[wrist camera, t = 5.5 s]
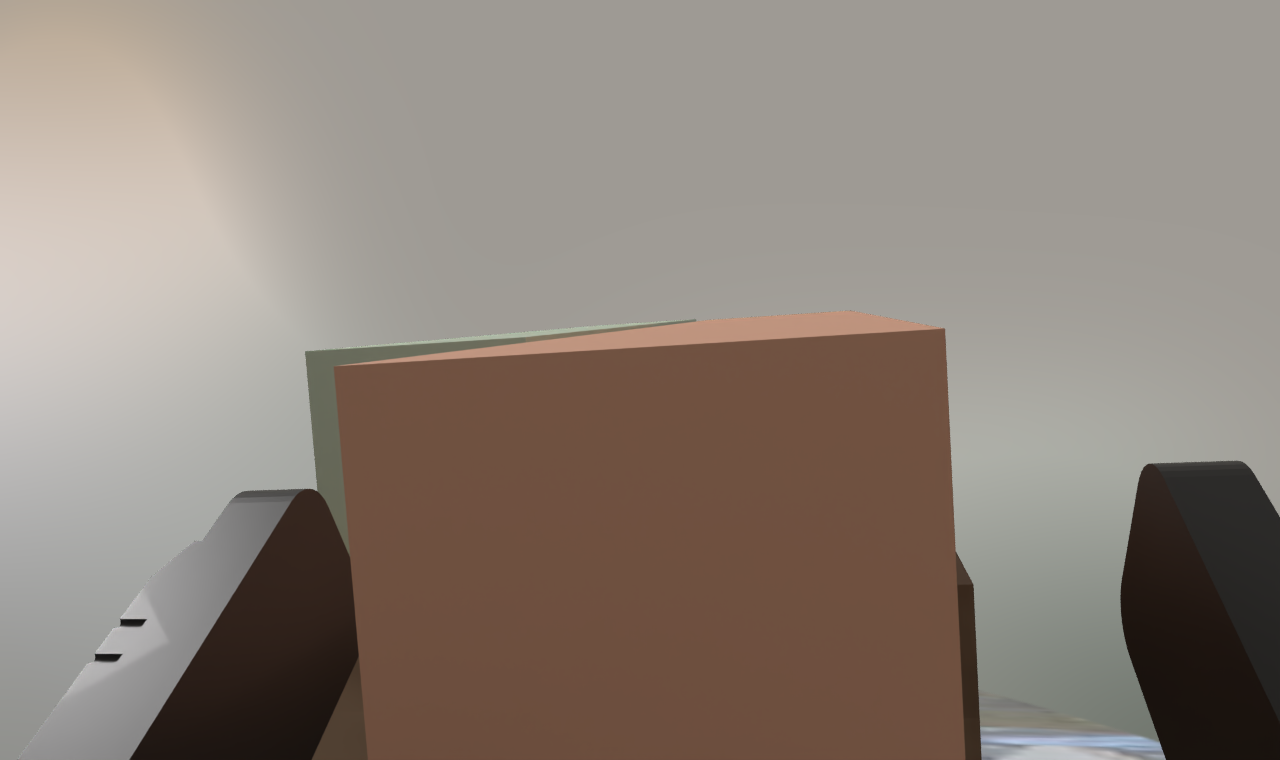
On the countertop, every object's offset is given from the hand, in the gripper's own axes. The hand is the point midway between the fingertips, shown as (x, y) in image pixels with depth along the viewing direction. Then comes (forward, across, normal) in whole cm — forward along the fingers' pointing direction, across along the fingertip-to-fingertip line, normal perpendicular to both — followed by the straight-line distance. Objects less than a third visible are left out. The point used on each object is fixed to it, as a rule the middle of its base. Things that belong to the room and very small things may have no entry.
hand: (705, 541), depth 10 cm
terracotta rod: (+6, 0, +6) cm, 8 cm away
